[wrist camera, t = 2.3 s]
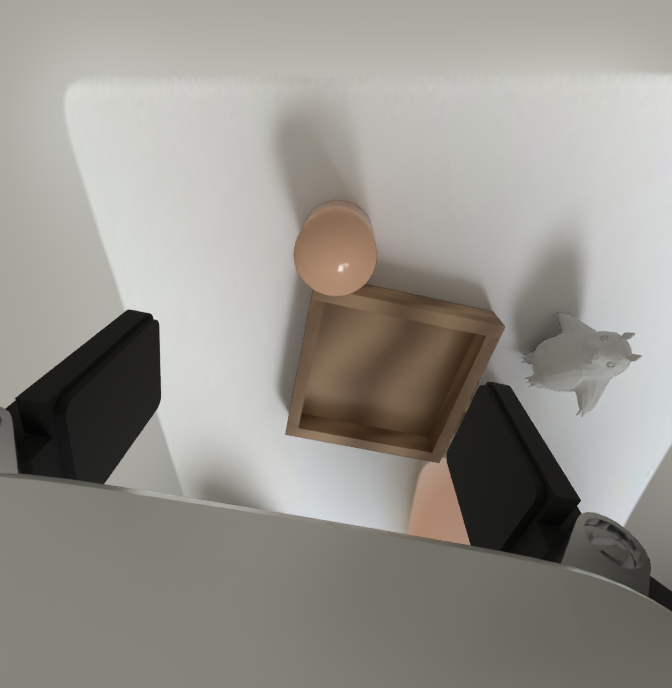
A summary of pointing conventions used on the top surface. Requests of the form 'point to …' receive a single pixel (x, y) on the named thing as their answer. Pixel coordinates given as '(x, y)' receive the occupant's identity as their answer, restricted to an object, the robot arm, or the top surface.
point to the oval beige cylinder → (336, 249)
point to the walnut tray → (389, 370)
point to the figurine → (580, 360)
